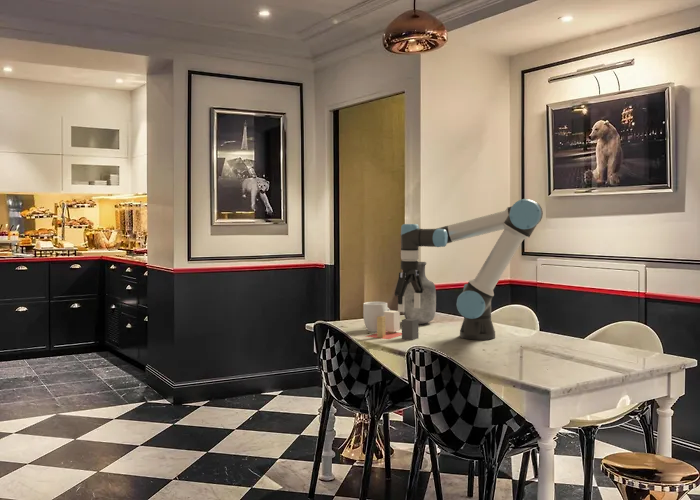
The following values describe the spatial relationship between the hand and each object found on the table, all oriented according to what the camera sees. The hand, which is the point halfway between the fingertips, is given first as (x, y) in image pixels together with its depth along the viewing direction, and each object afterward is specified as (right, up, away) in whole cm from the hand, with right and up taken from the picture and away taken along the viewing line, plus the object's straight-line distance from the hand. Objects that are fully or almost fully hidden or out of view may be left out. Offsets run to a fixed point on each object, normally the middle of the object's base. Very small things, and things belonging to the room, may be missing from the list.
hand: (409, 310), depth 291 cm
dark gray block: (0, -13, +1) cm, 13 cm away
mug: (-13, -12, +22) cm, 28 cm away
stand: (-9, -12, +10) cm, 18 cm away
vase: (+9, -11, +42) cm, 44 cm away
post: (-12, -12, +4) cm, 17 cm away
